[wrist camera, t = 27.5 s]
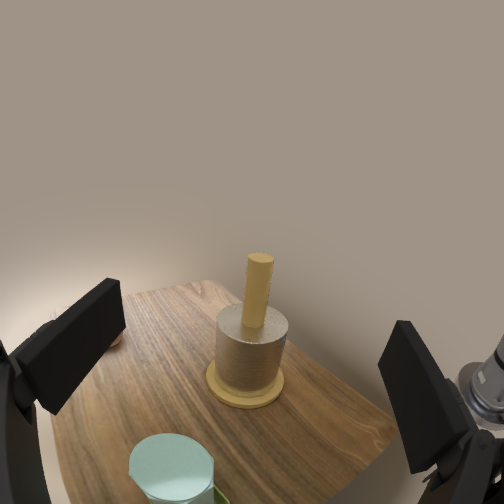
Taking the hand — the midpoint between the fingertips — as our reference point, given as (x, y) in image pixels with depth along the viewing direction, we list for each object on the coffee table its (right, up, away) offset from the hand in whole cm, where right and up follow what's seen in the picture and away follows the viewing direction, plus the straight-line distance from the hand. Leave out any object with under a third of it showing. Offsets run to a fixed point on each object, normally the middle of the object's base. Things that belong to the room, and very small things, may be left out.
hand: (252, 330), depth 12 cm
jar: (-9, -25, +10) cm, 28 cm away
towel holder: (-1, -20, +34) cm, 39 cm away
